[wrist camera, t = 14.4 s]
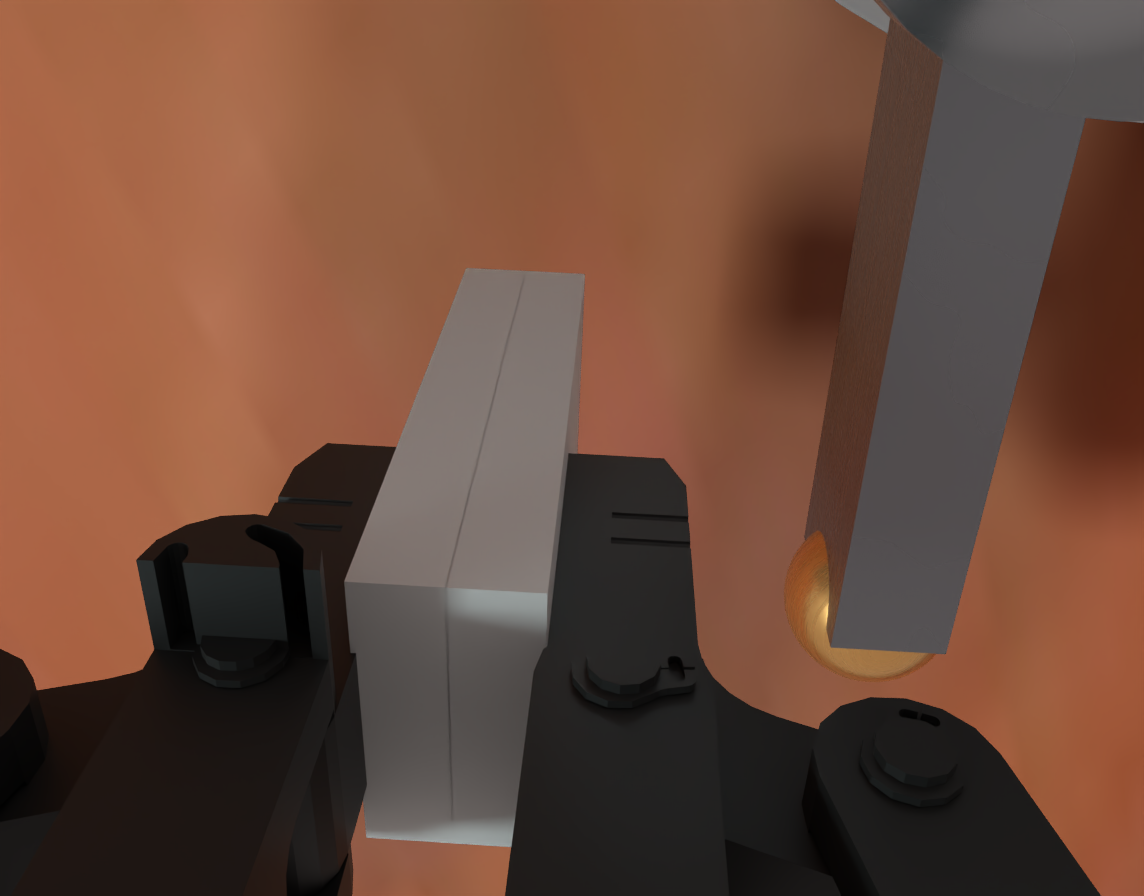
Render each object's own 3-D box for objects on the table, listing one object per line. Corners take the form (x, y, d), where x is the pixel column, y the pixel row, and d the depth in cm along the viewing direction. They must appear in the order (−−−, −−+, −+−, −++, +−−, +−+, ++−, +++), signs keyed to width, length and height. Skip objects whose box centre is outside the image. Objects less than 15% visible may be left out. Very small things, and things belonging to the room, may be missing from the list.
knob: (760, -582, 10) (881, -978, 5) (1311, -570, 10) (1978, -963, 5) (662, 550, 17) (673, 859, 12) (995, 567, 17) (1152, 889, 12)
